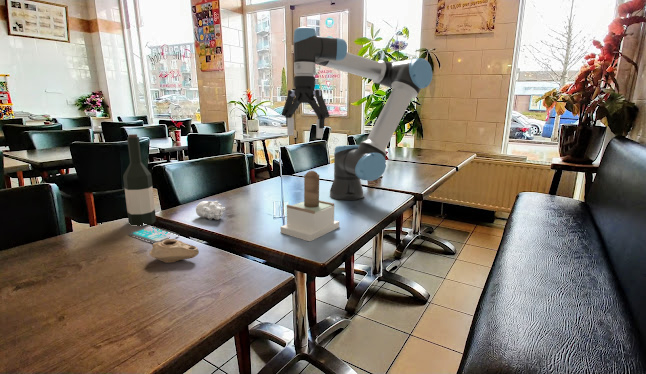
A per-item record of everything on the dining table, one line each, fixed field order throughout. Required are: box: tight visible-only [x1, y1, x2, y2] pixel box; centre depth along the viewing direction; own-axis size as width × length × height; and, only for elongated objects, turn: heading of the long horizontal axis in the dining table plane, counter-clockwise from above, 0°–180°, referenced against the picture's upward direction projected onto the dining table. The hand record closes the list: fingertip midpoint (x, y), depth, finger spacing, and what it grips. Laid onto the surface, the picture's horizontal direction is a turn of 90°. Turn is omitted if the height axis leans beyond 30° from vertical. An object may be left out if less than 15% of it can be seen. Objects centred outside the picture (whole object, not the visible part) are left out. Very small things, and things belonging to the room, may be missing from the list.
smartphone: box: [128, 226, 181, 243], centre depth 108 cm, size 9×1×15 cm
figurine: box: [195, 200, 227, 221], centre depth 124 cm, size 7×7×12 cm
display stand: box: [280, 199, 340, 242], centre depth 113 cm, size 16×12×9 cm
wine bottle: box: [122, 133, 157, 227], centre depth 116 cm, size 8×8×30 cm
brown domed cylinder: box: [303, 170, 320, 207], centre depth 112 cm, size 5×5×11 cm
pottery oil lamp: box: [149, 239, 200, 264], centre depth 91 cm, size 9×12×7 cm
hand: (304, 136), depth 127 cm, fingers open, 13 cm apart
